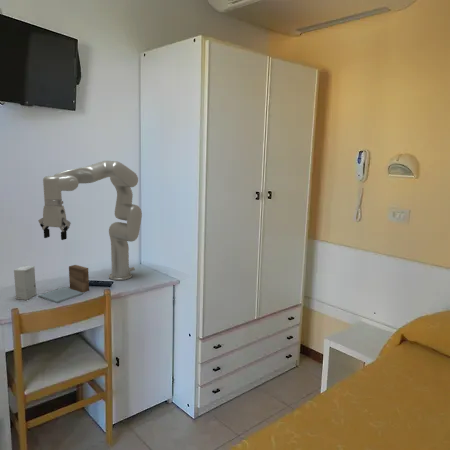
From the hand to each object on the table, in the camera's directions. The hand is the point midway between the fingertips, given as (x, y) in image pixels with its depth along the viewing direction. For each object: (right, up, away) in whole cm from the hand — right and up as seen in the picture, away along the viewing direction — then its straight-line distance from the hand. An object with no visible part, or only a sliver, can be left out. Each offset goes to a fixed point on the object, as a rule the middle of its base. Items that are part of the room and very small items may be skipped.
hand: (55, 238), depth 201 cm
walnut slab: (+5, -27, +18) cm, 33 cm away
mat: (-1, -29, +9) cm, 30 cm away
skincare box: (-17, -29, +6) cm, 34 cm away
